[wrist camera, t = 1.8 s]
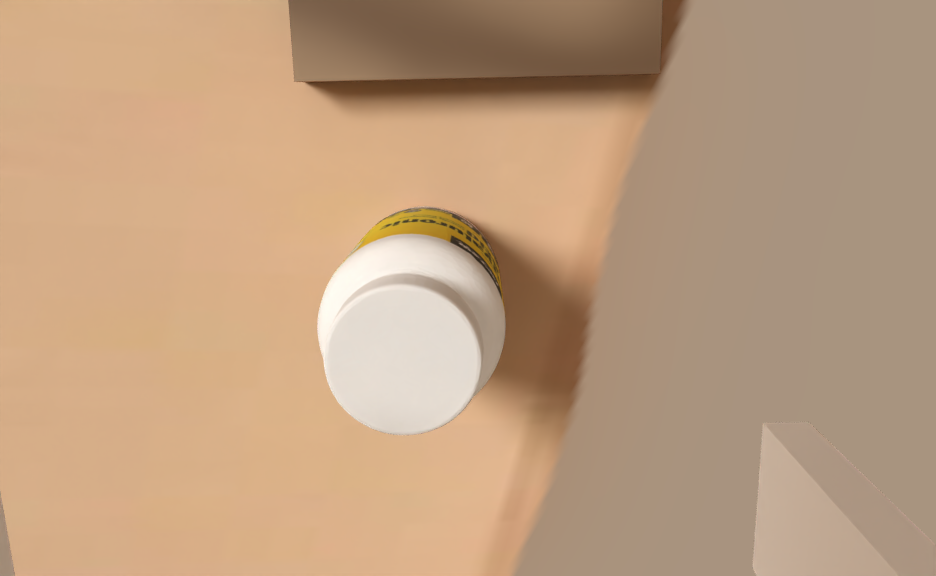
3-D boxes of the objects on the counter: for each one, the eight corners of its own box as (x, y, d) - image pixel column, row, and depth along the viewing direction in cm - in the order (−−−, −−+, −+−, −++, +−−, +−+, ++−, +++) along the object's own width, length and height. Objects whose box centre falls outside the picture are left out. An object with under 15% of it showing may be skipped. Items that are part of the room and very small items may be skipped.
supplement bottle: (524, 243, 29) (551, 318, 19) (459, 368, 30) (452, 499, 20) (390, 177, 28) (348, 220, 18) (328, 307, 29) (259, 411, 20)
